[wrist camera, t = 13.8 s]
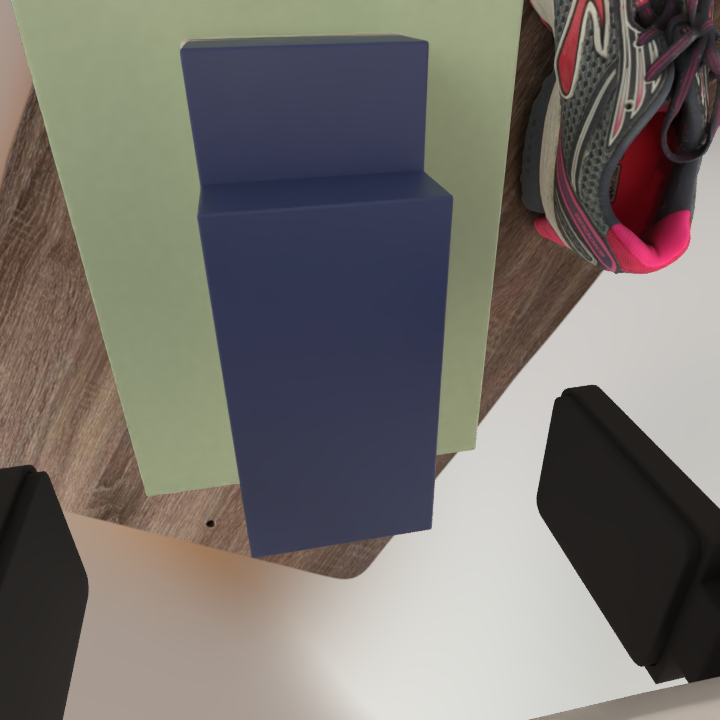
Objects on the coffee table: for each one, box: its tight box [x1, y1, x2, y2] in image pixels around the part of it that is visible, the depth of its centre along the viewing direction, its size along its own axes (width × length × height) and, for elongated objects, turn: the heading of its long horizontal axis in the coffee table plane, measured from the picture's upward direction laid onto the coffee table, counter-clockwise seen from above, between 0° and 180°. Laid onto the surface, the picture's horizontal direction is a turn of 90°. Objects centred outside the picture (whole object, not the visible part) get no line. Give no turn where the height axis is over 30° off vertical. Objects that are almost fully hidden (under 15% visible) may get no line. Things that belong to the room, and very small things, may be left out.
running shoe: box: [520, 0, 720, 274], centre depth 40 cm, size 14×35×13 cm, turn 10°
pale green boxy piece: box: [11, 0, 524, 496], centre depth 31 cm, size 12×16×32 cm
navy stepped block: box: [180, 32, 454, 558], centre depth 15 cm, size 5×12×6 cm, turn 1°
